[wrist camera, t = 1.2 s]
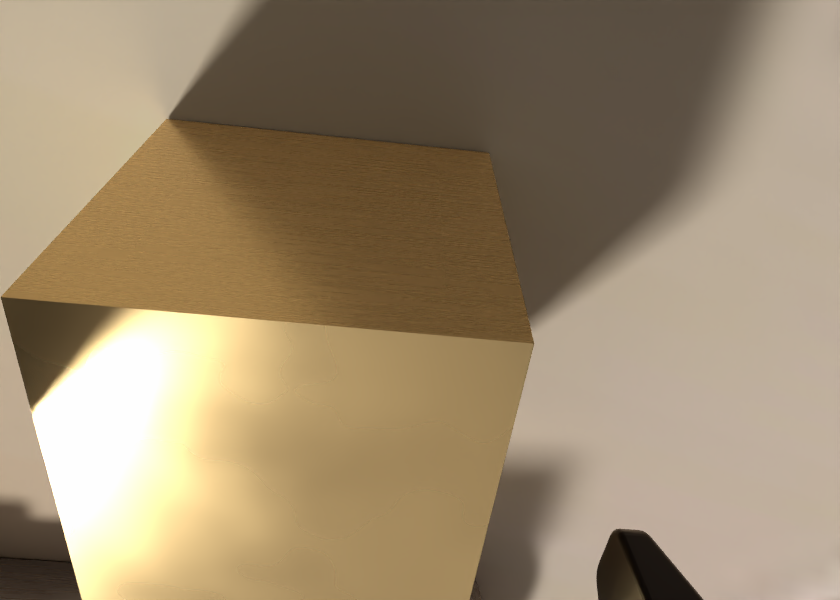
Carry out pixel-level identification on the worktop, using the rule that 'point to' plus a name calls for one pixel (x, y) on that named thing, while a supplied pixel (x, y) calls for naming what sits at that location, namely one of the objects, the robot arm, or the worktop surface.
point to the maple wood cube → (276, 368)
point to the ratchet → (55, 581)
